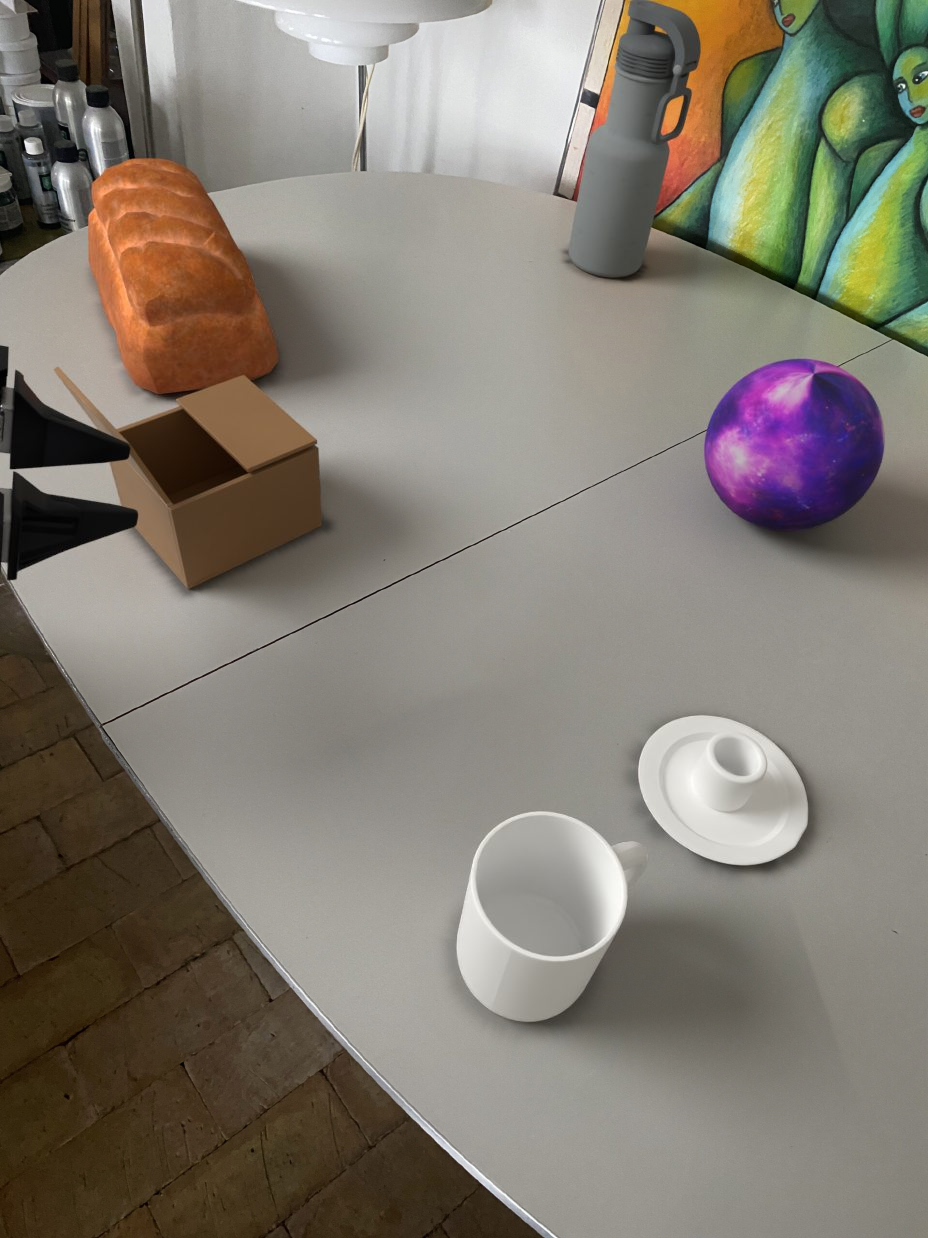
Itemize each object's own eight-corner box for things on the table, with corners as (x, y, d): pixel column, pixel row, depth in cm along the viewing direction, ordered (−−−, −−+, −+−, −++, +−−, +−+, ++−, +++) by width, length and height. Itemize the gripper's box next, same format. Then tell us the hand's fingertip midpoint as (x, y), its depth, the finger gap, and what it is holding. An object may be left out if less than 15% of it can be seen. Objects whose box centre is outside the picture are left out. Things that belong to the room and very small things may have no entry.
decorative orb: (667, 458, 87) (713, 322, 76) (809, 460, 89) (873, 327, 78) (708, 565, 77) (767, 427, 66) (866, 565, 79) (949, 430, 68)
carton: (188, 589, 70) (169, 502, 63) (123, 514, 75) (99, 425, 68) (322, 525, 76) (318, 439, 69) (254, 460, 81) (244, 373, 74)
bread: (135, 406, 85) (105, 279, 75) (84, 255, 103) (55, 136, 93) (290, 380, 90) (282, 258, 81) (217, 240, 108) (202, 127, 99)
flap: (171, 501, 63) (166, 505, 63) (101, 426, 68) (97, 429, 68) (129, 443, 58) (124, 447, 58) (57, 366, 63) (53, 369, 63)
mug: (588, 845, 58) (623, 762, 51) (664, 955, 54) (714, 883, 46) (430, 926, 54) (442, 849, 46) (499, 1054, 49) (524, 992, 42)
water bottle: (658, 265, 114) (724, 14, 93) (616, 289, 109) (676, 29, 88) (595, 236, 118) (646, -11, 97) (552, 258, 113) (595, 2, 92)
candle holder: (834, 855, 60) (861, 824, 56) (671, 883, 57) (690, 853, 54) (759, 712, 67) (780, 677, 64) (613, 731, 65) (626, 697, 61)
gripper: (-208, 427, 37) (168, 472, 45) (-152, 234, 49) (140, 296, 57) (-187, 609, 44) (137, 622, 52) (-142, 401, 56) (118, 437, 63)
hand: (133, 483), depth 56 cm, fingers open, 6 cm apart
